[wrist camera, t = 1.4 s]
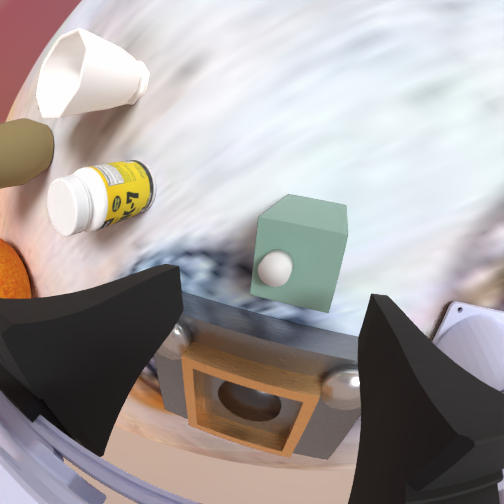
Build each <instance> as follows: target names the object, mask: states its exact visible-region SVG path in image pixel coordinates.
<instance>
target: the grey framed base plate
mask: <svg viewBox="0 0 504 504" xmlns="http://www.w3.org/2000/svg"><path fill="white" fill-rule="evenodd" d="M182 299H183V308H184V310H183V312H182V314H181V316H180V318H179V320H178V322H177V323H176V325H175V327H174V329H173V330H172V332H171V333H170V334H169V336H168V337H167V338H166V340H165V341H164V342H163V344H162V345H161V346H160V348H159V349H158V350H157V352H156V353H155V354H154V358H155V363H156V369H157V374H158V379H159V384H160V389H161V394H162V399H163V403H164V407H165V409H166V410H168V411H171V412H173V413H175V414H177V415H180V416H182V417H184V418H186V419H188V422H189V425H190V426H192V427H195V428H197V429H200V430H202V431H205V432H207V433H210V434H213V435H215V436H218V437H221V438H224V439H226V440H229V441H232V442H235V443H238V444H242V445H245V446H248V447H251V448H255V449H258V450H262V451H265V452H269V453H273V454H277V455H281V456H285V457H289V458H290V456H291V455H292V453H296V454H300V455H305V456H310V457H315V458H321V459H327V460H328V459H329V457H330V456H331V455H332V453H333V452H334V451H335V450H336V448H337V447H338V446H339V444H340V443H341V442H342V440H343V439H344V438H345V436H346V435H347V433H348V432H349V431H350V429H351V428H352V426H353V425H354V423H355V422H356V420H357V419H358V417H359V416H360V414H361V400H360V387H359V375H358V363H357V359H358V337H356V336H351V335H346V334H342V333H337V332H332V331H328V330H323V329H319V328H315V327H310V326H306V325H302V324H297V323H293V322H289V321H285V320H281V319H277V318H273V317H269V316H265V315H262V314H258V313H254V312H250V311H247V310H243V309H239V308H236V307H232V306H228V305H225V304H221V303H218V302H214V301H211V300H208V299H204V298H201V297H198V296H194V295H191V294H188V293H184V292H182Z"/></svg>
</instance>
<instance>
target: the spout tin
mask: <svg viewBox="0 0 504 504" xmlns="http://www.w3.org/2000/svg"><path fill="white" fill-rule="evenodd" d="M347 238H348V223H347V209H346V205H343V204H338V203H333V202H328V201H323V200H318V199H313V198H308V197H302V196H297V195H291V194H288V195H286V196H285V197H284V198H282V199H281V200H280V201H278V202H277V203H276V204H275V205H273V206H272V207H271V208H269V209H268V210H267V211H265V212H264V213H263V214H262V215H260V216H259V217H258V226H257V235H256V244H255V253H254V262H253V271H252V280H251V289H250V295H254V296H258V297H262V298H266V299H270V300H274V301H279V302H283V303H287V304H291V305H295V306H299V307H304V308H308V309H312V310H317V311H321V312H326V313H329V309H330V306H331V302H332V299H333V295H334V291H335V287H336V284H337V280H338V276H339V272H340V268H341V264H342V260H343V255H344V251H345V247H346V242H347Z"/></svg>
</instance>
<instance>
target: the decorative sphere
mask: <svg viewBox="0 0 504 504" xmlns="http://www.w3.org/2000/svg"><path fill="white" fill-rule="evenodd" d="M0 298H11V299H28V298H31V288H30V283H29V278H28V275H27V272H26V269H25V267H24V265H23V263H22V261H21V259H20V257H19V256H18V254H17V253H16V252H15V250H14V249H13V248H12V247H11V246H10V245H9V244H8V243H6V242H5V241H4V240H2V239H1V238H0Z"/></svg>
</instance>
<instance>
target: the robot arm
mask: <svg viewBox="0 0 504 504" xmlns="http://www.w3.org/2000/svg"><path fill="white" fill-rule="evenodd" d="M460 307H461V309H460V310H457V309H458V308H460ZM183 310H184V308H183V299H182V290H181V281H180V270H179V266H175V265H169V264H163V265H159V266H155V267H152V268H149V269H146V270H143V271H140V272H138V273H135V274H132V275H129V276H127V277H124V278H121V279H118V280H115V281H112V282H109V283H106V284H103V285H100V286H97V287H94V288H90V289H86V290H82V291H78V292H74V293H69V294H63V295H57V296H51V297H42V298H28V299H11V298H0V504H103V503H104V501H105V500H106V495H105V494H103V493H102V492H100V491H99V490H97V489H96V488H95V487H93V486H92V485H91V484H89V483H88V482H87V481H85V480H84V479H83V478H82V477H80V476H79V475H78V474H77V473H76V472H75V471H74V470H72V469H71V468H70V467H68V466H67V465H66V464H65V463H64V460H63V457H64V458H65V459H67V460H68V461H69V462H71V463H72V464H73V465H75V466H76V467H78V468H79V469H80V470H82V471H83V472H85V473H86V474H88V475H89V476H91V477H92V478H94V479H96V480H97V481H99V482H100V483H102V484H104V485H105V486H107V487H109V488H110V489H112V490H114V491H116V492H117V493H119V494H121V495H123V496H125V497H127V498H128V499H130V500H132V501H134V502H136V503H138V504H201V503H198V502H195V501H192V500H189V499H186V498H183V497H181V496H178V495H175V494H173V493H170V492H168V491H165V490H163V489H161V488H158V487H156V486H154V485H151V484H149V483H147V482H145V481H143V480H141V479H139V478H137V477H135V476H133V475H131V474H129V473H127V472H125V471H123V470H121V469H119V468H117V467H116V466H114V465H112V464H110V463H109V462H107V461H105V460H103V459H102V458H100V457H101V456H103V455H104V452H105V448H106V445H107V442H108V440H109V437H110V434H111V431H112V429H113V426H114V424H115V422H116V420H117V417H118V415H119V413H120V410H121V408H122V406H123V404H124V402H125V400H126V398H127V396H128V394H129V392H130V391H131V389H132V387H133V385H134V384H135V382H136V380H137V378H138V377H139V375H140V373H141V372H142V370H143V369H144V367H145V366H146V365H147V363H148V362H149V361H150V359H151V358H152V357H153V355H154V354H155V353H156V352H157V350H158V349H159V348H160V346H161V345H162V344H163V342H164V341H165V340H166V338H167V337H168V336H169V334H170V333H171V332H172V330H173V329H174V327H175V325H176V323H177V322H178V320H179V318H180V316H181V314H182V312H183ZM357 363H358V375H359V387H360V400H361V431H360V442H359V450H358V457H357V464H356V470H355V475H354V481H353V485H352V490H351V494H350V498H349V502H348V504H504V311H500V310H495V309H490V308H485V307H481V306H476V305H471V304H466V303H462V302H457V301H454V302H452V303H451V304H450V305H449V307H448V309H447V312H446V314H445V316H444V318H443V320H442V323H441V325H440V327H439V329H438V331H437V333H436V335H435V337H434V339H433V341H432V342H431V341H430V340H429V339H428V338H427V337H426V336H425V335H424V334H423V333H422V332H421V331H420V330H419V329H418V327H417V326H416V325H415V324H414V323H413V322H412V321H411V320H410V319H409V318H408V317H407V316H406V315H405V313H404V312H403V311H402V310H401V309H400V308H399V307H398V306H397V305H396V304H395V303H394V302H393V301H392V300H391V299H390V298H389V297H388V296H387V295H378V294H371V296H370V300H369V304H368V307H367V311H366V314H365V318H364V321H363V325H362V328H361V331H360V334H359V337H358V359H357ZM62 456H63V457H62Z"/></svg>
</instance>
